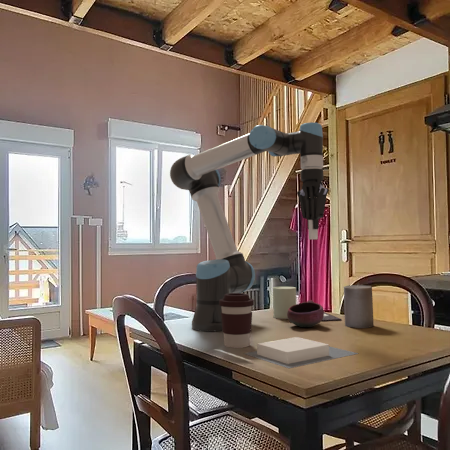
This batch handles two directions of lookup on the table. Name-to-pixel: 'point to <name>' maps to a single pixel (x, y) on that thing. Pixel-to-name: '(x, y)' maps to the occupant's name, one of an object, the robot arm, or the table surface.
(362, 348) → the table surface
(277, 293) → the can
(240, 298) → the coffee cup
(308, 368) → the table surface
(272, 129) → the robot arm
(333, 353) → the mat
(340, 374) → the table surface
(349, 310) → the pillar candle
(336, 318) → the chocolate bar
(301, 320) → the bowl
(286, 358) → the tile
